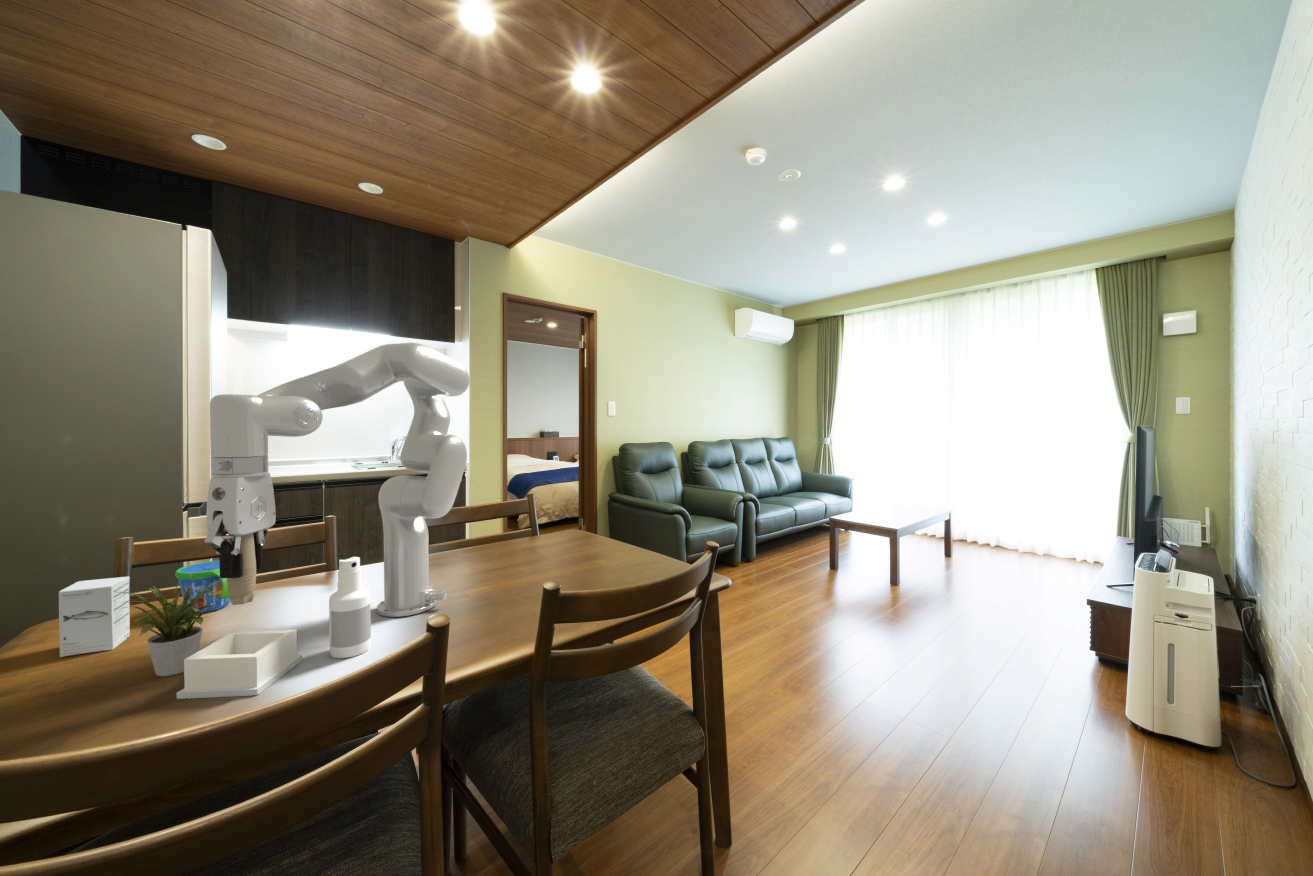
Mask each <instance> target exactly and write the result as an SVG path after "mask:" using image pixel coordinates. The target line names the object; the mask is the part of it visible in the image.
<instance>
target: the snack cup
mask: <svg viewBox="0 0 1313 876" xmlns="http://www.w3.org/2000/svg"><path fill="white" fill-rule="evenodd" d="M174 575H175V577H176V578H177V580H178V582H179V581H180V582H179V586H180V591H181V590H182V589H183V590H182V591H181V595H182V599H183V600H184V596H185V593H186V591H187V589H188V586H189V584H190V583H191V593H190V597H189V599H188V601H187V605H188V603H189V602H190V601H191V600H192V599H194V598H195V597H196V596H198V595H199V594H200V593H201V592H202V591H203V590H204V589H205V588H206V587H208V586H209V585H211V584H212V583H214V582H216V581H219V580H220V581H219V582H217V583H216V584H214V585H213V586H212V587H211V588H210V589H209V590H208V591H207V593H205V594H204V595H203V596H202V597H201V598H200V600H199V601H198V602H197V603H196V605H195V606H194V607H193V609H194V608H196V609H197V608H200V607H203V606H208V605H213V606H209V607H207V608H204V609H202V610H200V612H199V613H198V614H199V615H200V614H201V613H202V612H204V611H206V610H208V609H212V610H209V611H207V612H206V613H209V612H214V611H218V610H221V609H223V608H224V607H226V606H228V605H229V604H230V603H231V602H230V596H231V595H229V592H228V586H227V583H228V582H227V578H221V577H220V559H219V560H209V561H204V562H198V563H194V564H188V565H186V566H182V567H180V568H178V569H177V570H176V571H175V573H174ZM183 576H184V577H183ZM182 577H183V578H182ZM181 578H182V579H181ZM180 579H181V580H180ZM186 586H187V587H186ZM215 604H217V605H215ZM187 605H186V606H187ZM193 609H192V610H193ZM192 610H191V611H192ZM198 614H197V615H198Z"/></svg>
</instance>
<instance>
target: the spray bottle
mask: <svg viewBox="0 0 1313 876" xmlns="http://www.w3.org/2000/svg"><path fill="white" fill-rule="evenodd" d="M338 565H339V566H338V571H337V590H336V591H335V592H334V593H332V594H331V595H330V596H329V599H328V611H329V612H328V614H329V615H328V617H329V620H328V621H329V622H328V623H329V625H328V627H329V655H330V656H331V657H332V658H335V659H347V658H353V657H357V656H359V655H362V654H364V653H366V652H368V651H369V650H370V648H371V647H372V633H371V631H372V629H371V627H372V625H371V591H370V589H368V588H365V587H363V579H362V567H361V557H359V556H351V557H349V558H345V559H339V561H338Z"/></svg>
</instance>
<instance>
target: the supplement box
mask: <svg viewBox="0 0 1313 876" xmlns="http://www.w3.org/2000/svg"><path fill="white" fill-rule="evenodd" d="M130 577H131V576H120V577H109V578H108V577H107V578H99V579H98V578H97V579H89V580H87V579H86V580H79V581H76V582H74V583H73V584H70V585H69V586H67V587H65V588H63V589H61V590H60V591H58V624H59V625H58V626H59V627H58V630H59V633H58V634H59V639H58V641H59V657H60V658H63V657H68V656H75V655H81V654H89V653H97V652H103V651H104V652H105V651H112V650H114V649H115V648H117V647H118V646H119V645H121V644H122V643H123V642H124V641H126V640H127V639H128V638H129V637H130V635H131V634H130V633H131V632H130V628H131V627H130V626H131V625H130V624H131V623H130V620H131V616H130V608H131V607H130V606H131V605H130V603H131V602H130V594H129V593H130V579H131V578H130ZM117 592H128V593H117ZM125 602H127V603H125ZM121 603H122V604H121ZM124 607H126V608H124ZM120 608H121V609H120ZM127 627H128V628H127ZM127 637H128V638H127Z"/></svg>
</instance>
